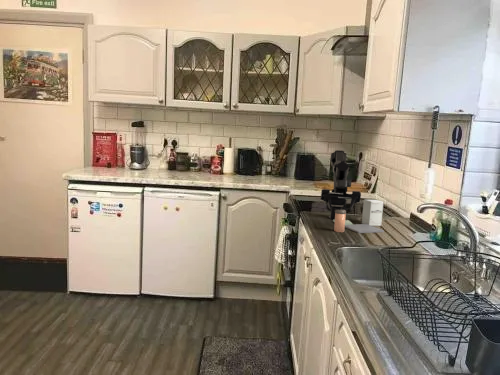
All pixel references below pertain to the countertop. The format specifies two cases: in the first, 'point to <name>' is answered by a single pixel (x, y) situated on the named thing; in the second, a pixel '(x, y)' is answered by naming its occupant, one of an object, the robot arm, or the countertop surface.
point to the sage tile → (346, 222)
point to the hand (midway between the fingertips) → (340, 209)
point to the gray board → (363, 228)
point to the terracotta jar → (339, 220)
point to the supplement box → (372, 212)
